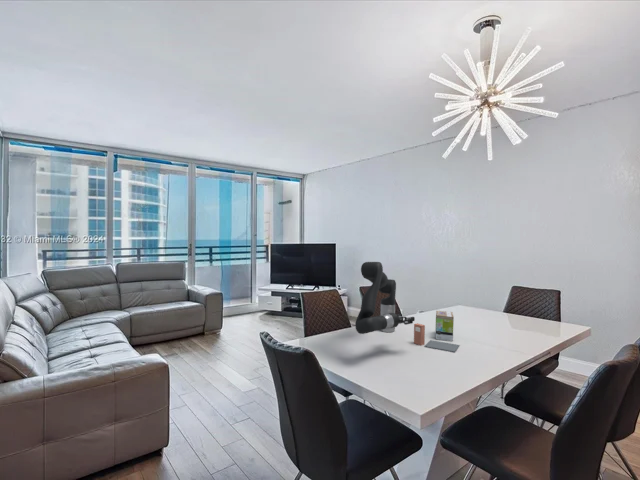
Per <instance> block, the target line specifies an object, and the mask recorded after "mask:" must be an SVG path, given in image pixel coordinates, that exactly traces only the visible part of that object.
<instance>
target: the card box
mask: <svg viewBox="0 0 640 480" xmlns="http://www.w3.org/2000/svg"><path fill="white" fill-rule="evenodd" d="M413 326H414V327H413V344H415V345H418V346H425V345H426V343H425V339H426V336H425V335H426V333H425V332H426V331H425V329H426V325H425V324H421V323H414V324H413Z"/></svg>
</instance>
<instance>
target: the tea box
mask: <svg viewBox="0 0 640 480" xmlns="http://www.w3.org/2000/svg"><path fill="white" fill-rule="evenodd" d="M454 317H455V316H454V313H453V311H444V310H436V311H435V340H436V341H444V342H445V341H446V342H447V341H448V342H453V339H454V321H455V319H454Z"/></svg>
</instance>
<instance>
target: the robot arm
mask: <svg viewBox="0 0 640 480" xmlns="http://www.w3.org/2000/svg"><path fill="white" fill-rule="evenodd" d="M383 268H384V266H383V264H382V263H381V262H380V261H365V262H363V263H362V264H361V266H360V273H361V276H362V277H363V278H364V279H366V280H368V281H369V282H370V283H371V285H370V287H369V288H368V289H367V290H366V291H365V293H364V294H363V296H362V299H361V305H360V310H359V312H358V315H357V318H356V319H355V326H354V327H355V330H356V333H358V334H360V335H364V334H368V333H374V332H376V331H381V332H383V333H394V332H396V331H395V330H396V328H397V327H398V326H399V325H401V324H404V325H409V324H410V325H412V324H413V322H415V320H416V319H415V316H410V317H407V316H402V313H398V314H396V295H397V294H396V293H397V292H396V291H397V282H396V280H395V279H389V278H388V276H387V275H386V273H385V272H384V269H383ZM379 292H380V293H382V294H388V295H389V296H387V297H385V298H381V299H380V315H376V316H373V315H375V310H376V304H377V303H376V302H377V298H378V293H379Z"/></svg>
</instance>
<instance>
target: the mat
mask: <svg viewBox="0 0 640 480" xmlns="http://www.w3.org/2000/svg"><path fill="white" fill-rule="evenodd" d="M423 347H424V348H427V349H434V350H439V351H445V352H450V353H456V352H457V350H458V349H459V348H460V344H456V343H455V344H454V343H451V342H450V343H449V342H445V341H440V340H434V339H433V340H432V339H430V340H429V341H428V342H427V343H425V345H423Z"/></svg>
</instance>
